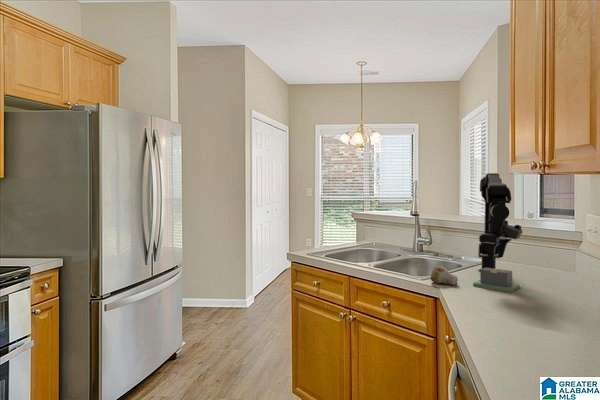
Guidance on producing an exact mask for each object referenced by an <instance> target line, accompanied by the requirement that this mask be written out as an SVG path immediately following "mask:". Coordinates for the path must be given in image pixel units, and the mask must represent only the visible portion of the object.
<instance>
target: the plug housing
mask: <svg viewBox="0 0 600 400" xmlns="http://www.w3.org/2000/svg"><path fill="white" fill-rule="evenodd" d="M480 269H481V271H480V279H479V280H480V282H481V283H488V284H494V285H501V286H509V285H511V284H512V283H513V270H510V269H509V270H507V269H501V268H500V269H499V268H496V269H494V268H483V269H482V268H480Z"/></svg>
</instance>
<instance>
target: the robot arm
mask: <svg viewBox="0 0 600 400" xmlns="http://www.w3.org/2000/svg"><path fill="white" fill-rule="evenodd" d="M502 180H503V179H501V177H500V174H499V173H497V172H496V173H495V172H492V173H491V172H490V173H488V172H487V173H486V174H485V176H484V177H483V178H481V179H480V182H479V192H480V195H481V197H482V198H483V200H484V230H483V233H482V234H480V235H479V237H478V242H480V243H478V249H477V255H478V258H480V259H481V268H480V269H478V272H481V269H483V268H494V269H497V268H496V266H497V265H496V262H497V259H500V258H501V259H502V258H504V255H505V251H506V247H507V245H508V243H510V242H511V241H513V240H518V239H520V237H521V235H522V234H523V229H522V225H519V224H515V225H514V226H513V225H510V224H509V221H508V220H506V219H507V218H508V217H509V215H510V209H509V208H508V206H507V205H506V204H511V202H512V194H511V190H510V188H509V187H508V185H507V184H506V183H504V182H503V181H502Z"/></svg>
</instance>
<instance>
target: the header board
mask: <svg viewBox="0 0 600 400" xmlns="http://www.w3.org/2000/svg"><path fill="white" fill-rule="evenodd" d="M472 286H473V287H478V288H484V289H491V290H495V291H496V290H497V291H503V292H509V293H512V292H514V291H516V290H518V289H519V288H520V287H521V284H519V283H514V282H512V284H511V285H509V286H501V285H494V284H488V283H481V282H480V279H479V280H476V281H474V282H473V283H472Z"/></svg>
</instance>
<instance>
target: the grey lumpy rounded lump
mask: <svg viewBox="0 0 600 400" xmlns="http://www.w3.org/2000/svg"><path fill="white" fill-rule="evenodd" d="M430 281H431V282H432V283H434V284H439V283H444V285H445V284H447V285H450V286H455V285H457V284H458V281H459V279H458V277H457V275H454V274H453V273H451V272H449V270H447V269H446V268H445V266H442V265H438V264H437V265H435V266H434V267H433V270H432V271H431V275H430ZM456 283H457V284H456Z"/></svg>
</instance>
